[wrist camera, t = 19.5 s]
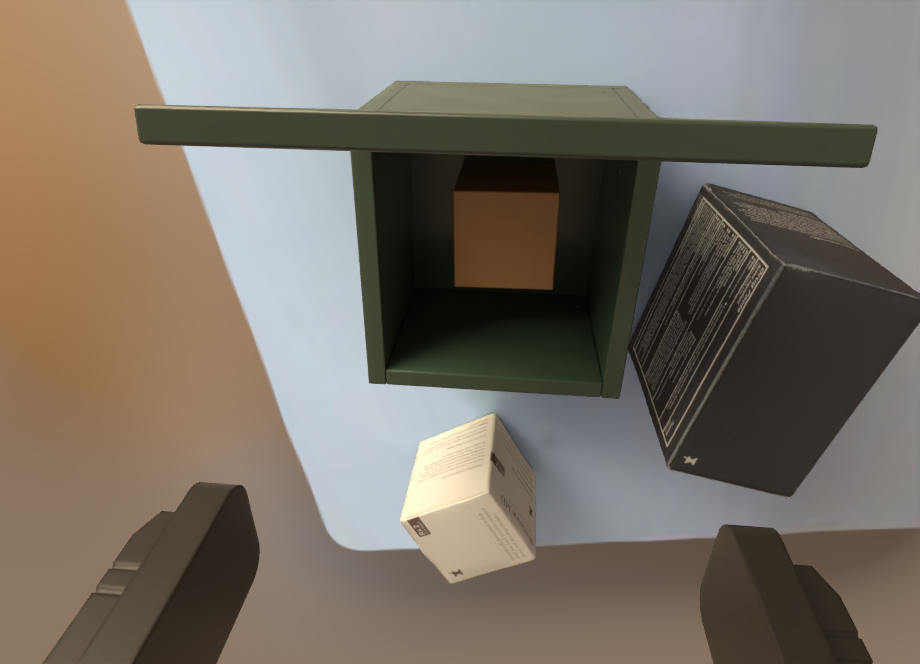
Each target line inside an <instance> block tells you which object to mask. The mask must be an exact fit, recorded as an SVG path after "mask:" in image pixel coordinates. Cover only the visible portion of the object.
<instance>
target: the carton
mask: <svg viewBox="0 0 920 664" xmlns="http://www.w3.org/2000/svg"><path fill="white" fill-rule="evenodd" d="M559 207H560V188H559V183H558V177H557V171H556V166H555V162H524V161H463V164H462V167H461V170H460V173H459V175H458V178H457V181H456V184H455V187H454V190H453V239H454V286H455V287H481V288H511V289H541V290H552V289H553V285H554V272H555V259H556V246H557V233H558V220H559Z"/></svg>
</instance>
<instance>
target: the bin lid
mask: <svg viewBox="0 0 920 664" xmlns="http://www.w3.org/2000/svg"><path fill="white" fill-rule="evenodd" d="M135 116H136V123H137V130H138V136H139V140H140V142H141V143H143V144H154V145H183V146H214V147H244V148H274V149H305V150H335V151H365V152H396V153H426V154H456V155H487V156H517V157H547V158H577V159H608V160H638V161H668V162H699V163H729V164H759V165H790V166H820V167H850V168H863V167H866V166H868V164H869V162H870V158H871V154H872V150H873V146H874V142H875V138H876V135H877V127H876V126H874V125H862V124H831V123H799V122H768V121H736V120H705V119H673V118H638V117H602V116H566V115H530V114H494V113H458V112H422V111H386V110H350V109H309V108H268V107H226V106H185V105H141V104H139V105H137V106H135Z"/></svg>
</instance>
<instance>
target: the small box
mask: <svg viewBox="0 0 920 664" xmlns="http://www.w3.org/2000/svg"><path fill="white" fill-rule="evenodd" d="M919 323H920V293H918V292H917V291H915V290H913V289H912V288H911V287H910V286H908V285H907V284H906V283H904V282H903V281H902V280H900V279H899V278H897V277H896V276H895V275H893V274H892V273H891V272H889V271H888V270H887V269H886V268H884V267H882V266H881V265H880V264H879V263H877V262H876V261H875V260H873V259H872V258H871V257H869V256H868V255H866V254H865V253H864V252H863V251H861V250H860V249H859V248H857V247H856V246H855V245H853V244H852V243H851V242H850V241H848V240H847V239H846V238H844V237H843V236H842V235H840V234H839V233H838V232H837V231H835V230H834V229H832V228H831V227H829V226H828V225H827V224H826V223H824V222H823V221H822V220H820V219H819V218H818V217H817V216H816V215H814V214H813V213H811V212H809V211H805V210H802V209H798V208H795V207H791V206H788V205H785V204H781V203H777V202H774V201H771V200H766V199H763V198H760V197H756V196H752V195H749V194H745V193H741V192H738V191H735V190H731V189H728V188H724V187H720V186H717V185H713V184H705V185H703V186H702V188H701V190H700V193H699V195H698V197H697V199H696V201H695V203H694V205H693V207H692V209H691V211H690V213H689V215H688V218H687V220H686V222H685V224H684V226H683V229H682V231H681V233H680V235H679V237H678V239H677V241H676V243H675V245H674V248H673V250H672V252H671V254H670V256H669V258H668V260H667V263H666V265H665V267H664V269H663V271H662V274H661V276H660V278H659V280H658V282H657V284H656V287H655V288H654V290H653V293H652V295H651V297H650V299H649V301H648V304H647V306H646V308H645V310H644V312H643V314H642V316H641V319H640V321H639V323H638V325H637V328H636V330H635V332H634V334H633V336H632V339H631V341H630V343H629V346H628V351H629V353H630V356H631V358H632V361H633V364H634V366H635V369H636V371H637V374H638V377H639V381H640V383H641V387H642V390H643V392H644V396H645V398H646V403H647V406H648V409H649V413H650V415H651V418H652V422H653V424H654V428H655V430H656V433H657V437H658V439H659V443H660V446H661V449H662V451H663V455H664V457H665V461H666V465H667V467H668V469H669V470H673V471H677V472H683V473H686V474H691V475H695V476H700V477H704V478H708V479H711V480H717V481H720V482H725V483H729V484H733V485H737V486H742V487H746V488H749V489H754V490H758V491H762V492H766V493H771V494H775V495H780V496H784V497H791V496H792V495H793V494H794V492H795V491H796V490H797V488H798V487H799V486H800V484H801V483H802V481H803V480H804V479H805V477H806V476H807V475H808V473H809V472H810V471H811V469H812V468H813V467H814V465H815V464H816V462H817V461H818V460H819V458H820V457H821V455H822V454H823V453H824V451H825V450H826V449H827V447H828V446H829V444H830V443H831V442H832V440H833V439H834V438H835V436H836V435H837V434H838V432H839V431H840V429H841V428H842V427H843V425H844V424H845V423H846V421H847V420H848V419H849V417H850V416H851V415H852V413H853V412H854V410H855V409H856V408H857V406H858V405H859V404H860V402H861V401H862V400H863V398H864V397H865V396H866V394H867V393H868V391H869V390H870V389H871V387H872V386H873V385H874V383H875V382H876V381H877V379H878V378H879V377H880V375H881V374H882V372H883V371H884V370H885V368H886V367H887V366H888V364H889V363H890V362H891V360H892V359H893V358H894V356H895V355H896V354H897V352H898V351H899V350H900V348H901V347H902V346H903V344H904V343H905V342H906V340H907V339H908V338H909V336H910V335H911V333H912V332H913V331H914V329H915V328H916V327H917V325H918V324H919Z"/></svg>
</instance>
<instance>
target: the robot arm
mask: <svg viewBox="0 0 920 664" xmlns="http://www.w3.org/2000/svg"><path fill="white" fill-rule="evenodd" d="M259 553H260V549H259V541H258V537H257V533H256V529H255V524H254V520H253V517H252V512H251V508H250V504H249V500H248V496H247V492H246V490H245V488H244V487H243V486H242V485H230V484H219V483H205V482H199V483H196V484H195V485H193V486H192V487H191V489H190V490H189V491H188V493H187V494H186V496H185V497H184V499H183V501H182V502H181V504H180V505H179V507H178V508H177V510H176V511H175V512H166V511H161V512H160V513H159V514H158V515H156V516H155V517H154V518H153V519H152V520H150V521H149V522H148V523H147V524H145V525H144V526H143V527H142V528H140V529H139V530H138V531H137V532H136V533H134V534H133V535H132V537H131V538H130V540H129V541H128V542H127V544H126V545H125V547H124V548H123V549H122V551H121V552H120V554H119V555H118V557H117V558H116V559H115V561H114V563H113V567H112V569H108V571H107V573H106V574H105V575H104V577H103V578H102V579H101V581H100V582H99V584H98V585H97V587H96V588H97V589H96V592H95V593H92V594H91V595H90V597H89V598H88V599H87V601H86V602H85V604H84V605H83V607H82V608H81V609H80V611H79V612H78V614H77V615H76V617H75V618H74V619H73V621H72V622H71V624H70V625H69V627H68V628H67V629H66V631H65V632H64V634H63V635H62V637H61V638H60V639H59V641H58V642H57V644H56V645H55V646H54V648H53V649H52V651H51V652H50V654H49V655H48V656H47V658H46V659H45V661H44V662H43V664H216V663H217V661H218V659H219V657H220V654H221V652H222V650H223V648H224V645H225V643H226V641H227V639H228V637H229V634H230V632H231V630H232V628H233V625H234V623H235V621H236V619H237V616H238V614H239V612H240V610H241V608H242V605H243V603H244V601H245V599H246V596H247V594H248V592H249V590H250V587H251V585H252V583H253V580H254V578H255V575H256V571H257V567H258V563H259ZM700 610H701V617H702V622H703V626H704V630H705V634H706V637H707V641H708V645H709V648H710V652H711V656H712V659H713V663H714V664H872V662H873V661H872V659H871V657H870V655H869V653H868V651H867V649H866V647H865V645H864V643H863V641H862V639H859V638H858V631H857V629H856V627H855V625H854V623H853V621H852V619H851V618H850V615H849V613H848V611H847V609H846V607H845V605H844V603H843V601H842V599H841V597H840V596H839V595H838V594H837V593H836V592H835V591H834V590H833V589H832V587H831V586H830V585H829V584H828V583H827V582H826V581H825V580H824V579H823V578H822V577H821V576H820V575H819V574H818V573H817V571H816V570H815V569H814V568H813V567H812V566H804V565H793V563H792V561H791V559H790V556H789V554H788V552H787V550H786V547H785V545H784V543H783V541H782V539H781V537H780V535H779V534H778V532H777V531H776V530H775V529H773V528H765V527H752V526H740V525H727V524H725V525H722V526H721V528H720V529H719V532H718V535H717V538H716V541H715V544H714V547H713V550H712V553H711V556H710V559H709V562H708V565H707V568H706V571H705V574H704V577H703V580H702V584H701V589H700Z"/></svg>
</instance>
